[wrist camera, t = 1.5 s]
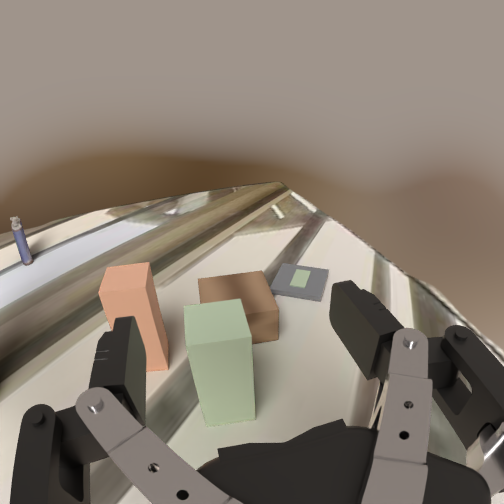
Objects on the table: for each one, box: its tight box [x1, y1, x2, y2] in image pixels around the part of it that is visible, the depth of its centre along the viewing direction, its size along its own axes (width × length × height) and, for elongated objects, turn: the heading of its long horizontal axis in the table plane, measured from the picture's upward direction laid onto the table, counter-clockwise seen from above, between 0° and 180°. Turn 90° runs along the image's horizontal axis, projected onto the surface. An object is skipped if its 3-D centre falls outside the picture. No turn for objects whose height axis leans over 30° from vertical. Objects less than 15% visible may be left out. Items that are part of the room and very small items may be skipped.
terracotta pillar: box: [98, 262, 168, 372], centre depth 35 cm, size 5×5×12 cm
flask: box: [10, 217, 33, 266], centre depth 59 cm, size 9×3×11 cm, turn 43°
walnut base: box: [198, 271, 279, 344], centre depth 42 cm, size 9×9×5 cm
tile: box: [270, 263, 329, 301], centre depth 51 cm, size 8×8×1 cm
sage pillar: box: [184, 299, 256, 427], centre depth 28 cm, size 5×5×12 cm
